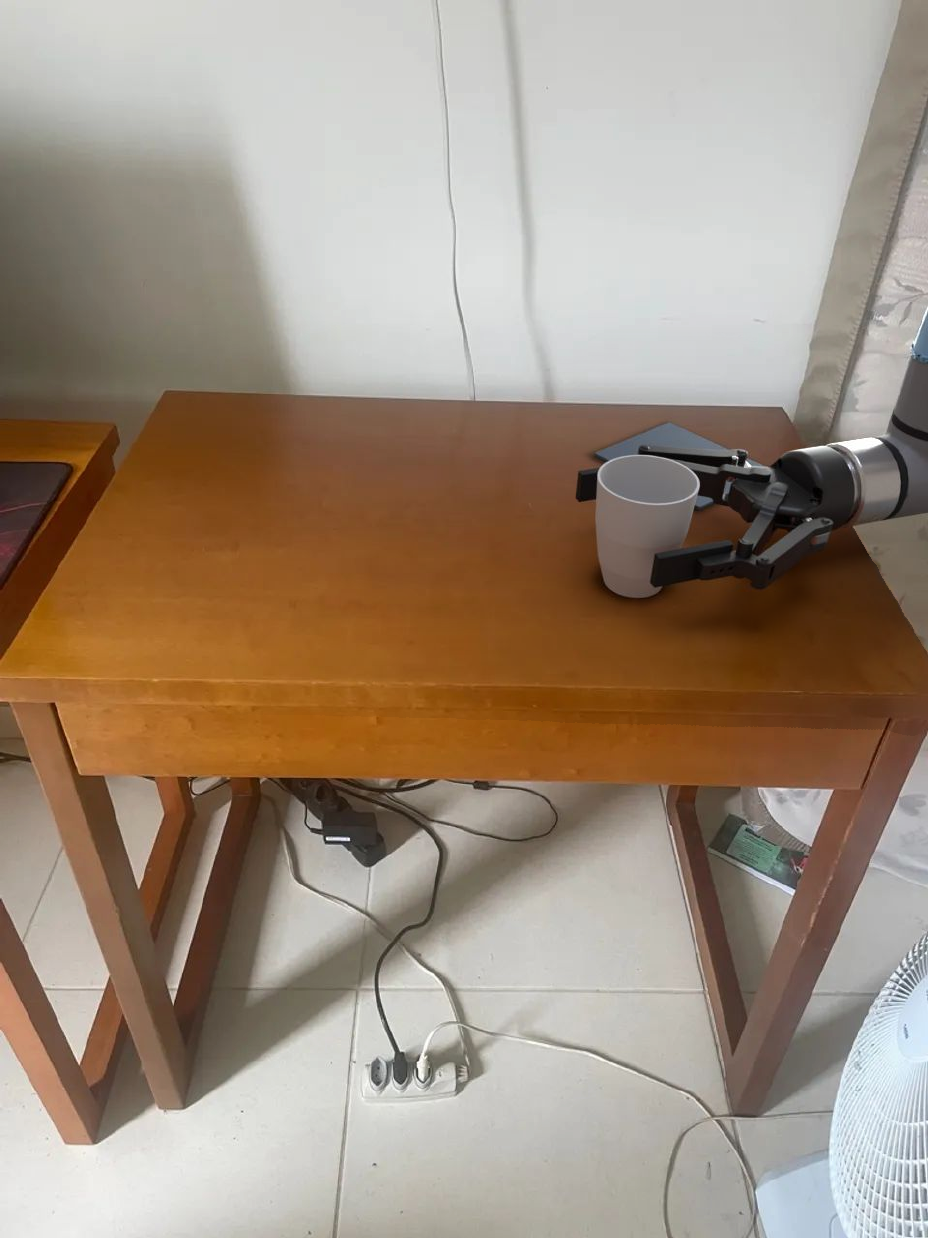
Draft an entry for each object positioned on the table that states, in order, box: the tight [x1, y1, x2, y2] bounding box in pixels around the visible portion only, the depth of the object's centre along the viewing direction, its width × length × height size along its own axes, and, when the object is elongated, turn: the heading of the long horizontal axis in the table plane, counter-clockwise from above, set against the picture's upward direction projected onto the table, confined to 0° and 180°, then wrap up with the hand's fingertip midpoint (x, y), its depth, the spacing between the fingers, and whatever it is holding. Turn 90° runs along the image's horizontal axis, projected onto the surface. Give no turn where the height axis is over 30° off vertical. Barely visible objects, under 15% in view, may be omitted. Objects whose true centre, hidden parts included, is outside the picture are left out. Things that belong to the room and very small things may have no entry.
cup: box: [594, 455, 700, 599], centre depth 82 cm, size 8×8×10 cm
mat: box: [593, 422, 766, 511], centre depth 102 cm, size 14×12×1 cm
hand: (613, 526), depth 80 cm, fingers open, 13 cm apart
